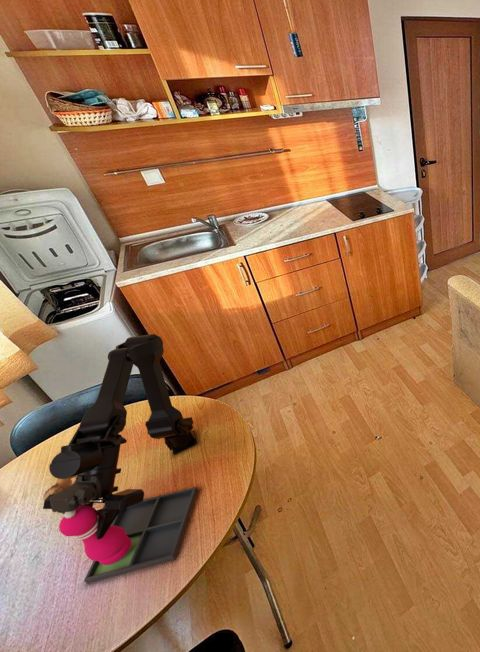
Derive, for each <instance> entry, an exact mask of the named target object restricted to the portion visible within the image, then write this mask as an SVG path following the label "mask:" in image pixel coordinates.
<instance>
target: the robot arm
mask: <svg viewBox="0 0 480 652" xmlns="http://www.w3.org/2000/svg"><path fill="white" fill-rule="evenodd" d="M164 353H165V350H164V341H163V339H162V338H161V336H159V335H157V334H155V333H151V334H144V335H137V336H129V337H127V338H126V340H125V341H124V342H122V343H120V344H117V345H115V348H114V349H112V350H110V351H109V352H108V354H107V361H108V362H107V365H106V369H105V372H104V375H103V378H102V382H101V385H100V388H99V392H98V395H97V397H96V399H95V402H94V404H92V405H91V406H90V407H89V408H88V409H87V410H86V411H85V413H84V415H83V417H82V419H81V421H80V422H79V426H78V427H77V429H76V431H75V432H74V434H73V436H72V438H71V440H70V441H69V442H68V444H66V445H63V446H61V447H60V452H59V453H57V454H56V455H55V456H54V457H53V458H52V460H51V462H50V463H49V466H48V468H49V473H50V475H51V476H52V477H53V478H55V479H57V478H58V479H66V478H69V477H72V476H75V475H78V476H77V477H75V480H74V483H72V485H71V486H68V487H66V488H65V489H63V490H61V491H60V492H57V493H54V494H50V495H49V496H48V497H47V498H46V499H45V500H44V499H43V505H42V509H43V510H51V511H52V512H53V513H58V514H59V513H60V514H62V515H64V514H65V512H71V511H73V510H75V509H77V508H78V507H80V506H91V507H93V508H94V504H103V507H102V508H99V509H96V511H95V513H96V514H97V515H98V516H99V520H98V527H97V540H99V539H101V538H103V536H104V535H105V533H106V532H107V530H108V529H109V527H110V526H111V524H112V523H113V521H114V520H115V518H116V517H117V516H118V514H119V513H120V512H121V510H122V509H124V508H127V507H129V506H132V505H134V504H137V503H139V502H142V501H143V500H144V499H145V491H144V490H143V489H142V488H127V489H125V490H121V491H119V486H118V485H115V483H116V482H115V481H116V475H117V474H121V473H122V468H120V467H119V468H118V463H119V457H120V453H121V445H124V444H126V443H127V442H128V440H127V439H126V437H123V436H122V434H120V433H122V432H123V431H124V429H125V427H126V425H127V416H128V411H127V409H126V407H125V406H124V401H125V396H126V392H127V389H128V386H129V381H130V379H131V374H132V371H133V368H134V366H135V367H136V368H137V369H138V373H139V375H140V379H141V382H142V386H143V389H144V392H145V396H146V399H147V403H148V406H149V410H150V415H149V418H148V420H147V421H145V422H144V423H145V427H146V430H147V435H148V436H149V437H150V438H151V439H154V440H156V439H157V440H161V439H163V440H164V444H165V446H166V447H167V448H168V449H169V451H172V455H174V456H175V455H178V454H179V453H182V452H184V451H186V450H188V449H190V448H192V447H194V446H196V445H197V444H198V440H197V434H196V431H195V430H193V429H194V426H193V425H194V419H193V417H192V416H191V417H189V416H188V417H184V416H183V414H182V412H181V410H179V409H177V408H176V407H174V406H173V404H172V401H171V397H170V394H169V391H168V387H167V383H166V379H165V376H164V373H163V369H162V365H161V360H162V357H163V355H164Z"/></svg>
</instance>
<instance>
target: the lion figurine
mask: <svg viewBox="0 0 480 652" xmlns="http://www.w3.org/2000/svg"><path fill="white" fill-rule="evenodd" d="M77 476H78V475H75V476H72V477H69V478H66V479H58V478H56V481H55V484H53V485H51V487H49V488H48V489H47V490H46V491H45V492H44V494H43V496H42V497H43V498H42V500H43V501H44V500H45V499H46V498H47V497H48V496H49V495H50V494H54V493H57V492H60V491H61V490H63V489H65V488H66V487H68V486H71V485H73V480H72V479H73V478H76V477H77Z"/></svg>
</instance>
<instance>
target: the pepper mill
mask: <svg viewBox="0 0 480 652" xmlns="http://www.w3.org/2000/svg"><path fill="white" fill-rule="evenodd" d="M96 510H97V509H96V508H95V507H94V506H93V507H91V506H80V507H78V508H77V509H75V510H73V511H71V512H65V514H63V517H62V518H61V520H60V522H59V525H58V528H59V532H60V533H61V534H62V535H63V536H65V537H72V538H73V539H74V540H76V541H82V542H83V545H84V546H83V547H84V553H85V556H86V557H87V558H88V559H89V560H90V561H92V562H93V561H98V562H100V563H101V564H103V565H110V564H113V563H115V562H117V561H119V560H120V559H122V558H123V557H124V556H125V555H126V554H127V552H128V551H129V549H130V547H131V544H132V541H131V539H130V538H129V537H128V536H127V535H126V531H125V530H124V529H123V528H121V527H119V526H115V525H111V526H110V527H109V529H108V530H107V532H106V533H105V535H104V536H103V538H101V539H99V540H97V527H98V520H99V516H98V515H97V514H96V513H95V511H96Z"/></svg>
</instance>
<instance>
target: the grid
mask: <svg viewBox="0 0 480 652" xmlns="http://www.w3.org/2000/svg"><path fill="white" fill-rule="evenodd" d="M198 493H199V489H198V488H197V486H196V487H195V486H194V487H191V488H187V489H182V490H178V491H174V492H170V493H166V494H162V495H158V496H152V497H149V498H144V499H143V501H142V502H139V503H137V504H134V505H132V506H129V507H127V508H124V509H122V510H121V512H120V513H119V514H118V516H117V517H116V518H115V520H114V521H113V523H112V524H111V525H115V526H119V527H121V528H123V529H124V530H125V531H126V535H127V536H128V537H129V538H130V539H131V541H132V544H131V547H130V549H129V551H128V552H127V554H126V555H125V556H124V557H123V558H122V559H120V560H119V561H117V562H115V563H113V564H110V565H103V564H101V563H100V562H98V561H93V560H92V563H91V565H90V567H89V569H88V570H87V573H86V576H85V578H84V579H83V582H85V583H86V584H88V585H90V584H93V583H97V582H100V581H104V580H107V579H111V578H115V577H118V576H122V575H125V574H128V573H129V574H130V573H133V572H136V571H137V572H138V571H140V570H143V569H144V570H145V569H148V568H151V567H154V566H158V565H162V564H165V563H169V562H172V561H175V560H176V559H177V556H178V553H179V550H180V547H181V545H182V541H183V539H184V535H185V532H186V530H187V527H188V524H189V521H190V517H191V514H192V510H193V508H194V505H195V502H196V499H197V496H198Z"/></svg>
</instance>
